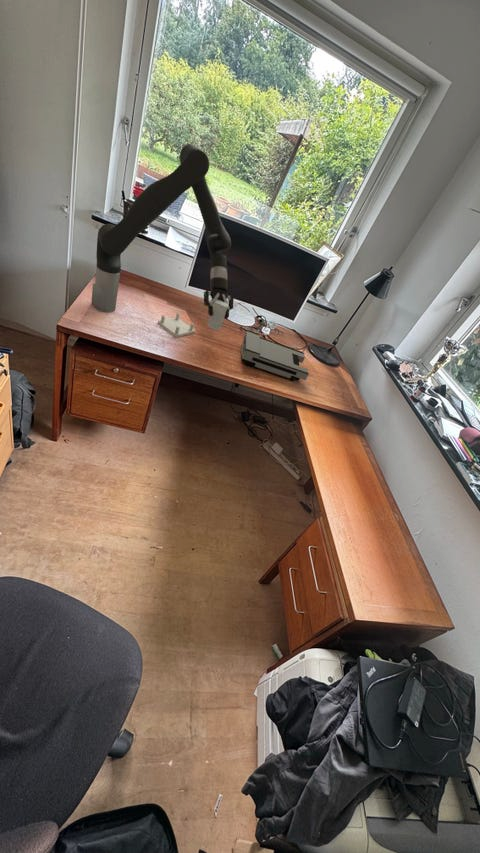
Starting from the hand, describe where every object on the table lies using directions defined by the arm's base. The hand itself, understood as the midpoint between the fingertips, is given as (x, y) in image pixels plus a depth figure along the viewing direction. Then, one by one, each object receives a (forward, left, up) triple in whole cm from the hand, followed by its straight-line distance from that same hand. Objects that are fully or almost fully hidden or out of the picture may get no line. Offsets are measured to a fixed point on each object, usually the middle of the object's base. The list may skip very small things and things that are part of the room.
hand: (218, 317), depth 152 cm
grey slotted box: (+19, -25, -15) cm, 35 cm away
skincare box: (+1, +1, -6) cm, 6 cm away
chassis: (-7, +16, -14) cm, 22 cm away
